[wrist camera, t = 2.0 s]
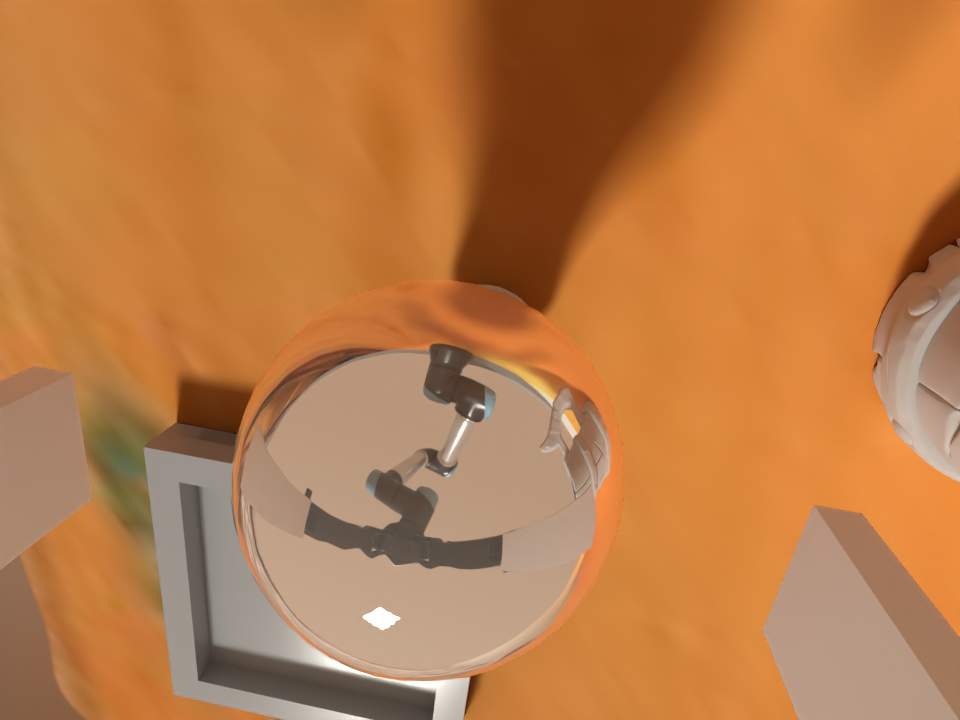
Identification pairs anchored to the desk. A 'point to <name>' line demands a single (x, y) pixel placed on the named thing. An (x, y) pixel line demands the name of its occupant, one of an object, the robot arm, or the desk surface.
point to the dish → (249, 607)
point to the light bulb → (427, 480)
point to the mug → (924, 361)
